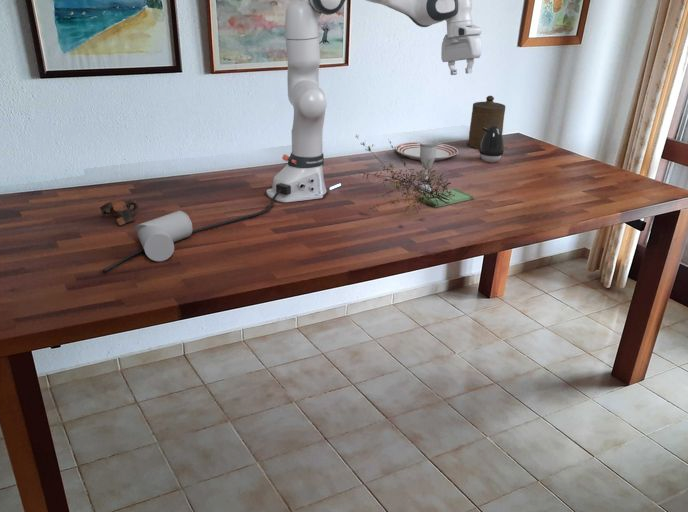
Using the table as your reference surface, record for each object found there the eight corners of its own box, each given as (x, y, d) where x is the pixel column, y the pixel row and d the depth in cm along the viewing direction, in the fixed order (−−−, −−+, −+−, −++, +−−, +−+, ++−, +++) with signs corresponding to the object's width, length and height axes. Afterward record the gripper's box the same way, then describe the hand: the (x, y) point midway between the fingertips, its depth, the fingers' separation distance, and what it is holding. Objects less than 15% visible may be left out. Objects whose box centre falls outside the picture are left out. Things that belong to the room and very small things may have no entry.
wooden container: (491, 140, 331) (497, 92, 319) (506, 148, 319) (513, 98, 307) (462, 142, 326) (467, 93, 315) (477, 150, 314) (483, 100, 303)
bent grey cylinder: (127, 235, 215) (138, 260, 200) (131, 202, 211) (141, 225, 195) (185, 239, 223) (199, 264, 208) (189, 208, 219) (204, 230, 203)
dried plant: (450, 150, 248) (346, 103, 223) (497, 183, 225) (386, 135, 200) (410, 225, 260) (307, 189, 235) (450, 264, 237) (341, 228, 212)
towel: (435, 207, 248) (435, 204, 248) (417, 199, 255) (417, 196, 255) (472, 199, 257) (472, 195, 257) (454, 191, 264) (454, 188, 264)
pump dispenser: (475, 157, 304) (479, 122, 297) (498, 157, 306) (502, 122, 298) (481, 164, 296) (485, 128, 288) (504, 164, 297) (509, 128, 289)
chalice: (427, 194, 260) (431, 146, 251) (412, 191, 263) (415, 142, 254) (437, 190, 265) (442, 142, 256) (422, 186, 268) (426, 139, 259)
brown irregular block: (112, 229, 223) (98, 206, 221) (108, 233, 232) (96, 210, 230) (145, 214, 228) (133, 190, 226) (141, 217, 236) (129, 195, 234)
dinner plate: (397, 145, 318) (398, 138, 316) (457, 149, 315) (458, 142, 314) (392, 162, 295) (392, 154, 293) (457, 167, 292) (457, 159, 290)
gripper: (436, 35, 251) (437, 76, 256) (468, 29, 233) (469, 73, 238) (450, 34, 253) (452, 75, 258) (484, 28, 236) (485, 71, 241)
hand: (461, 74), depth 248 cm, fingers open, 8 cm apart
